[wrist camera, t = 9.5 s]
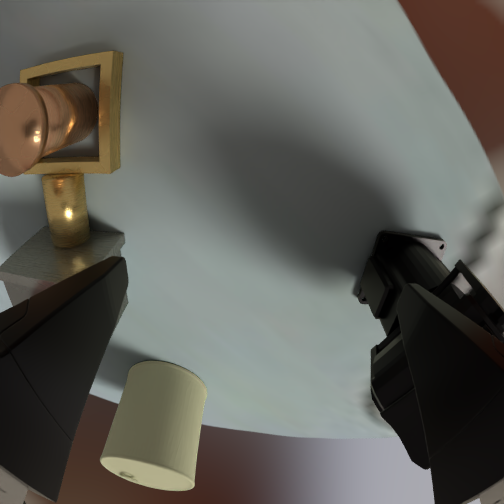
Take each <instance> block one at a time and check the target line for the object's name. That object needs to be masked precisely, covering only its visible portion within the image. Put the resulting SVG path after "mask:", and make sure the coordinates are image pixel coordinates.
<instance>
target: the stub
mask: <svg viewBox="0 0 504 504" xmlns="http://www.w3.org/2000/svg"><path fill="white" fill-rule="evenodd" d="M97 118H98V102H97V99H96V96H95V94H94V93H93V91H92V90H91V89H90V88H89V87H88V86H86V85H84V84H81V83H67V84H55V85H45V86H36V87H33V86H32V85H29V84H27V83H13V84H8V85H5V86H3V87H1V88H0V174H2V175H5V176H8V177H14V176H18V175H20V174H22V173H24V172H26V171H28V170H30V169H31V168H32V167H34V166H35V165H36V164H37V162H38V161H39V160H40V158H42V157H44V156H46V155H49V154H51V153H53V152H55V151H58V150H60V149H62V148H65V147H67V146H70V145H72V144H75V143H77V142H80V141H82V140H84V139H85V138H86V137H87V136H89V134H90V133H91V132H92V130H93V129H94V127H95V125H96V122H97Z"/></svg>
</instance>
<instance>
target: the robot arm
mask: <svg viewBox="0 0 504 504" xmlns="http://www.w3.org/2000/svg"><path fill="white" fill-rule="evenodd" d="M384 236H386V238H385V239H384V240H382V238H383V237H384ZM441 244H442V246H441V247H440V245H441ZM446 247H447V244H446V242H445V241H444V240H443V239H438V238H431V237H425V236H418V235H412V234H405V233H398V232H391V231H381V232H380V233H379V234H378V236H377V239H376V242H375V246H374V249H373V252H372V255H371V256H370V257H369V258H368V261H367V264H366V267H365V271H364V274H363V277H362V280H361V283H360V286H361V289H360V291H359V294H358V300H359V302H360V303H361V304H369V306H370V309H371V311H372V313H373V316H374V317H375V319H380V321H381V324H382V326H383V328H384V331H385V333H386V336H387V337H386V338H385V339H384V340H383V341H382V342H381V343H380V344H379V345H376V346H374V347H373V348H372V349H371V394H372V400H373V401H374V403H375V405H376V407H377V408H378V410H379V411H380V414H381V416H382V418H383V419H384V420H385V421H386V422H387V423H388V424H389V425H391V427H392V428H393V429H394V431H395V432H396V433H397V435H398V436H399V437H400V439H401V441H402V443H403V445H404V446H405V449H406V450H407V453H408V455H409V457H410V459H411V460H412V461H413V462H414V463H415V464H417V465H418V466H420V467H421V468H423V469H429V468H430V469H431V475H432V483H433V491H434V500H435V504H467V503H469V502H471V501H473V500H475V499H477V498H480V502H481V504H504V309H503V308H502V307H501V306H500V304H499V303H498V302H497V301H496V299H495V298H494V297H493V296H492V294H491V293H490V292H489V291H488V290H487V288H486V287H485V286H484V285H483V284H482V283H481V282H480V280H479V279H478V278H477V277H476V276H475V275H474V274H473V273H472V272H471V271H470V269H469V268H468V267H467V266H466V265H465V264H464V263H463V262H462V261H461V260H459V261H458V262H457V263H456V264H455V268H454V269H453V270H452V271H451V272H450V271H449V270H448V269H447V267H446V266H445V265H444V264H443V263H442V261H441V260H442V257H443V255H444V252H445V250H446ZM127 287H128V273H127V266H126V260H125V258H124V257H120V256H111V257H109V258H107V259H104V260H102V261H100V262H98V263H96V264H94V265H92V266H90V267H88V268H86V269H84V270H82V271H80V272H78V273H76V274H74V275H72V276H70V277H68V278H66V279H64V280H62V281H60V282H58V283H56V284H54V285H53V286H51V287H49V288H47V289H45V290H43V291H41V292H39V293H37V294H35V295H34V296H32V297H30V298H29V299H26V300H24V301H22V302H21V303H19V304H17V305H15V306H13V307H11V308H9V309H7V310H5V311H3V312H1V313H0V504H26V503H25V501H24V499H25V496H26V493H27V490H28V489H29V490H31V491H33V492H35V493H36V494H38V495H40V496H43V497H44V498H47V499H49V500H51V501H53V502H57V499H58V495H59V491H60V487H61V483H62V479H63V475H64V472H65V468H66V464H67V461H68V457H69V453H70V450H71V447H72V442H73V440H74V436H75V433H76V430H77V427H78V424H79V421H80V418H81V415H82V412H83V409H84V406H85V403H86V400H87V397H88V395H89V392H90V389H91V386H92V384H93V381H94V378H95V376H96V373H97V370H98V368H99V365H100V363H101V360H102V358H103V355H104V353H105V350H106V348H107V345H108V343H109V340H110V338H111V336H112V333H113V331H114V328H115V326H116V323H117V320H118V316H119V313H120V310H121V306H122V303H123V300H124V297H125V293H126V290H127ZM363 297H365V298H363ZM362 298H363V299H362Z"/></svg>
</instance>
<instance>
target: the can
mask: <svg viewBox="0 0 504 504" xmlns="http://www.w3.org/2000/svg"><path fill="white" fill-rule="evenodd" d="M206 398H207V389H206V386H205V384H204V383H203V382H202V381H201V379H200V378H198V377H197V376H196V375H195V374H193V373H192V372H190V371H189V370H187V369H185V368H182V367H180V366H177V365H175V364H171V363H167V362H161V361H144V362H140V363H137V364H135V365H134V366H132V367H131V369H130V370H129V372H128V378H127V382H126V385H125V388H124V391H123V394H122V397H121V400H120V403H119V406H118V409H117V412H116V414H115V418H114V420H113V424H112V426H111V430H110V432H109V436H108V439H107V442H106V445H105V447H104V451H103V454H102V456H101V457H100V462H101V464H102V465H103V466H104V467H105V468H107V469H108V470H109V471H111V472H113V473H114V474H116V475H118V476H120V477H122V478H124V479H127V480H129V481H132V482H134V483H137V484H140V485H144V486H148V487H152V488H156V489H163V490H172V491H184V490H189V489H191V488H193V487H194V485H195V484H194V478H195V468H196V459H197V451H198V443H199V436H200V429H201V422H202V415H203V409H204V404H205V400H206Z"/></svg>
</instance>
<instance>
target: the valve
mask: <svg viewBox="0 0 504 504" xmlns="http://www.w3.org/2000/svg"><path fill="white" fill-rule="evenodd" d="M42 185H43V192H44V199H45V206H46V212H47V218H48V223H49V227H45V226H44V227H43V228H42V229H41V230H40V231H39V232H37V233H36V234H35V235H34V236H33V237H32V238H30V239H29V240H28V241H27V242H26V243H25V244H24V245H22V246H21V247H20V248H19V249H18V250H17V251H16V252H15V253H14V254H13V255H11V256H10V257H9V258H8V259H7V260H6V261H5V262H4V263H3V264H2V265H1V266H0V280H2V281H4V284H5V287H6V290H7V292H8V295H9V298H10V300H11V303H12V305H13V306H15V305H17V304H19V303H21V302H22V301H24V300H26V299H29V298H30V297H32V296H34V295H35V294H37V293H39V292H41V291H43V290H45V289H47V288H49V287H51V286H53V285H54V284H56V283H58V282H60V281H62V280H64V279H66V278H68V277H70V276H72V275H74V274H76V273H78V272H80V271H82V270H84V269H86V268H88V267H90V266H92V265H94V264H96V263H98V262H100V261H102V260H104V259H107V258H109V257H111V256H120V257H121V252H120V249H121V247H122V246H123V245H124V244H125V237H124V233H114V232H102V231H91V230H90V228H89V221H88V213H87V205H86V195H85V185H84V173H58V174H46V175H44V176H43V177H42ZM127 304H128V298H127V293H125V297H124V300H123V303H122V306H121V310H120V313H119V316H118V320H117V323H116V326H117V324H118V322H119V320H120V318H121V316H122V314H123V312H124V310H125V308H126V306H127ZM116 326H115V328H116ZM115 328H114V330H115ZM113 332H114V331H113ZM112 334H113V333H112Z"/></svg>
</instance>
